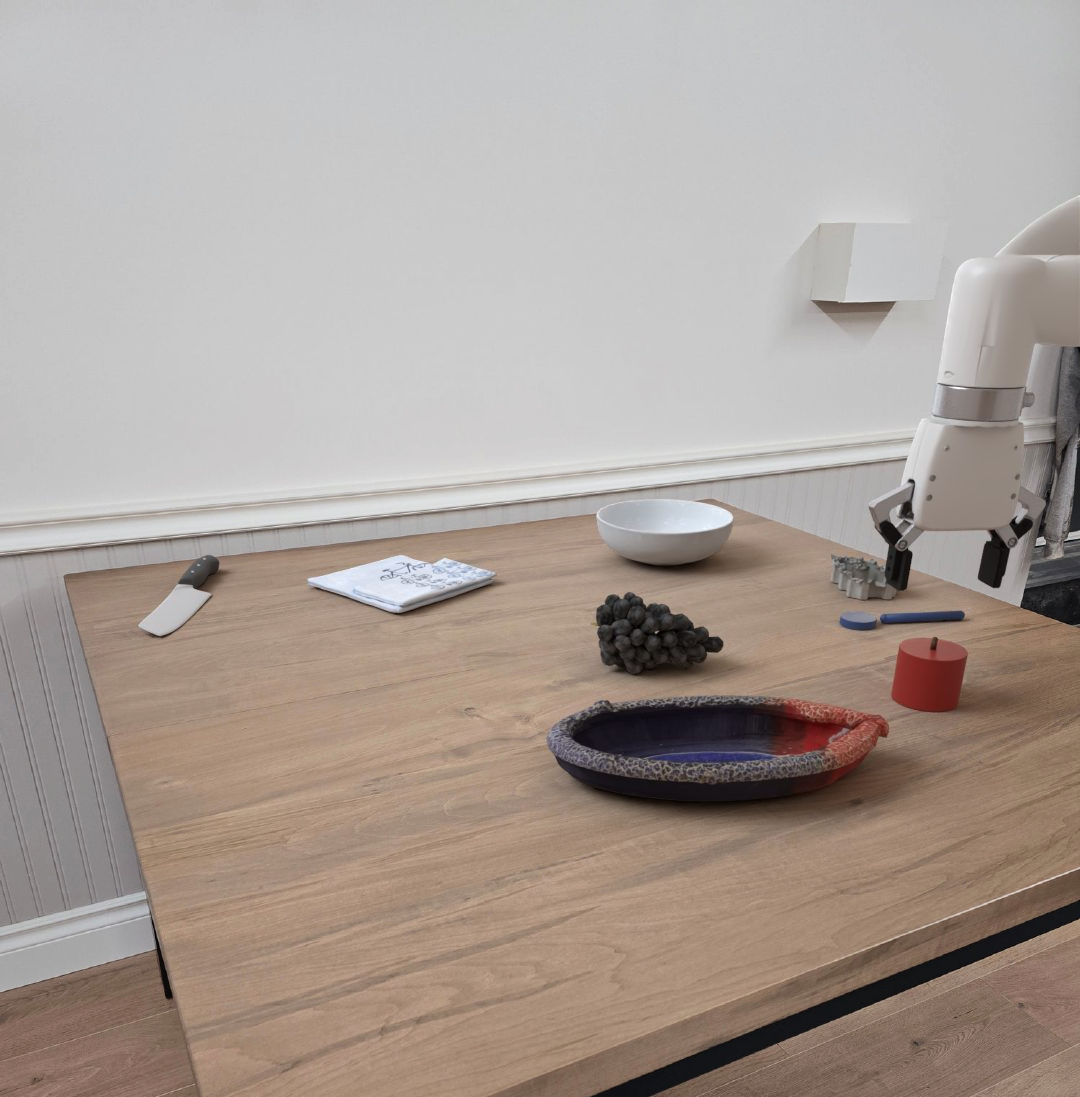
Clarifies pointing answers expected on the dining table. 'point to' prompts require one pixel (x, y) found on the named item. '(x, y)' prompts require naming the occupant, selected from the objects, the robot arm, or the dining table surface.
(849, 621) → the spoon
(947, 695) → the red stemmed cylinder
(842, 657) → the dining table surface
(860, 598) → the egg carton
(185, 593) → the kitchen knife
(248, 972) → the dining table surface
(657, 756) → the dish
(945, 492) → the robot arm
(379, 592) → the folded tea towel
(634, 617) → the fruit
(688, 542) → the serving bowl
